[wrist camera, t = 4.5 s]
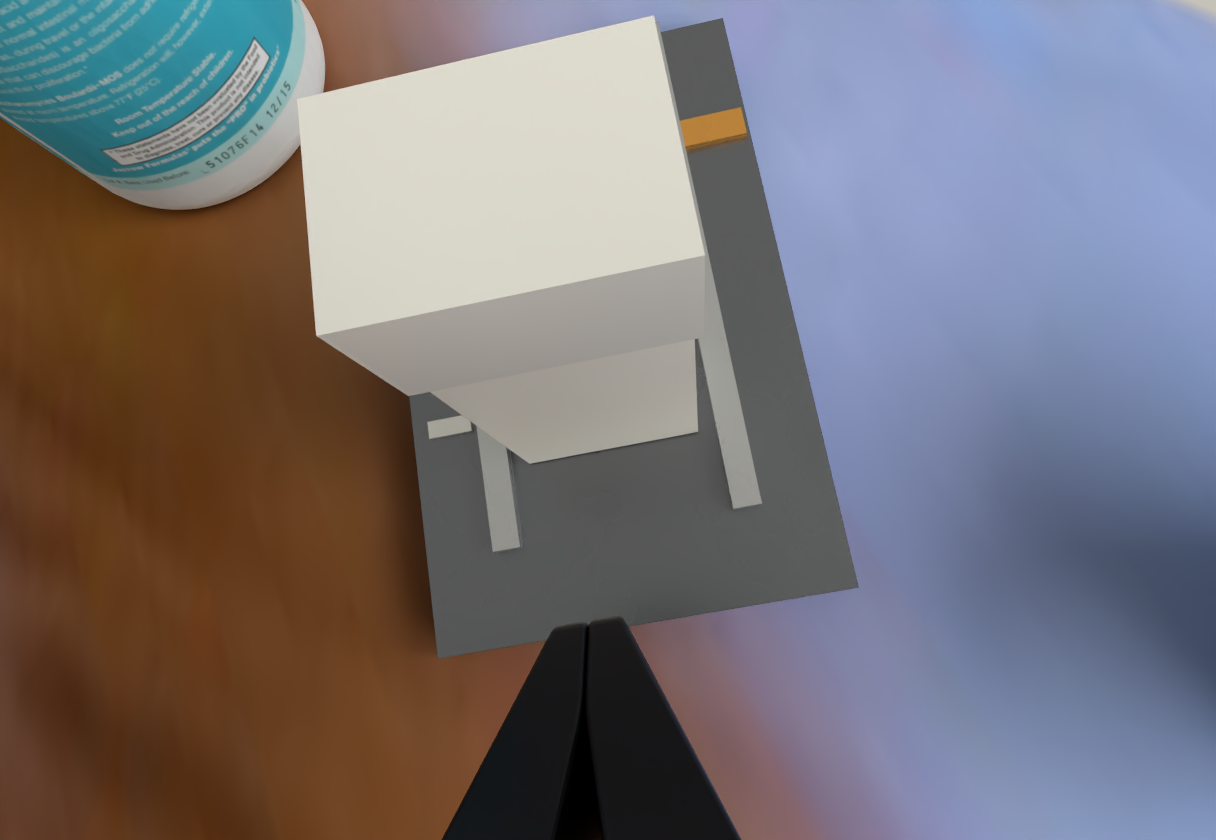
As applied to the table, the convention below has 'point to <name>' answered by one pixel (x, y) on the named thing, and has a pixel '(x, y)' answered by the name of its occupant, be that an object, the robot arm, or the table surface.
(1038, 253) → the table surface
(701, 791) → the robot arm
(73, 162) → the pill bottle
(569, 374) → the fader tab
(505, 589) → the console
